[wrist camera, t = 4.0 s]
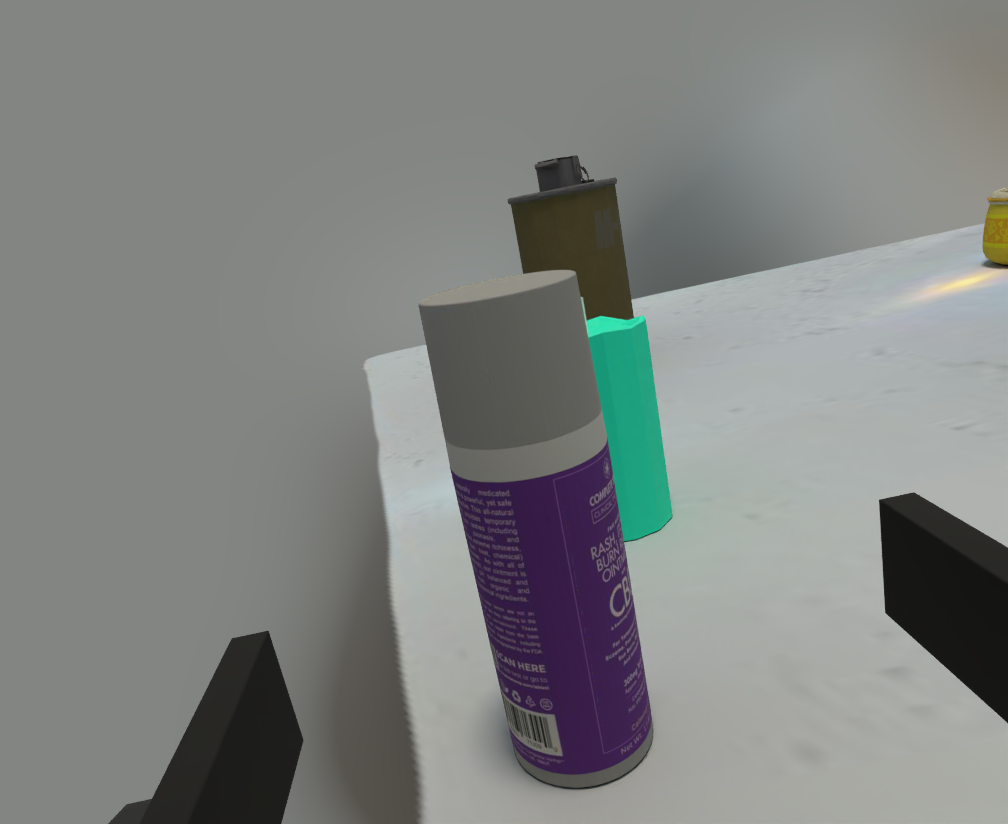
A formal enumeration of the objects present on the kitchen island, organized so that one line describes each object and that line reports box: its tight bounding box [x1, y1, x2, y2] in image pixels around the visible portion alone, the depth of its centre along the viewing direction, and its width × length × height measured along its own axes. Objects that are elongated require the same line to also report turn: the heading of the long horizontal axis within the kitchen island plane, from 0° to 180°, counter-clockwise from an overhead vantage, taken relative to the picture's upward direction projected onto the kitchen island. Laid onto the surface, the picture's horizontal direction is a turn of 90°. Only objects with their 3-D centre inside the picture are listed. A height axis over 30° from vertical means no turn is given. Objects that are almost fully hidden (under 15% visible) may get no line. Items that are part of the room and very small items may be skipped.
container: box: [419, 270, 653, 788], centre depth 22 cm, size 5×5×15 cm
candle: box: [581, 297, 672, 541], centre depth 38 cm, size 6×6×12 cm
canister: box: [508, 156, 634, 320], centre depth 71 cm, size 11×10×20 cm
